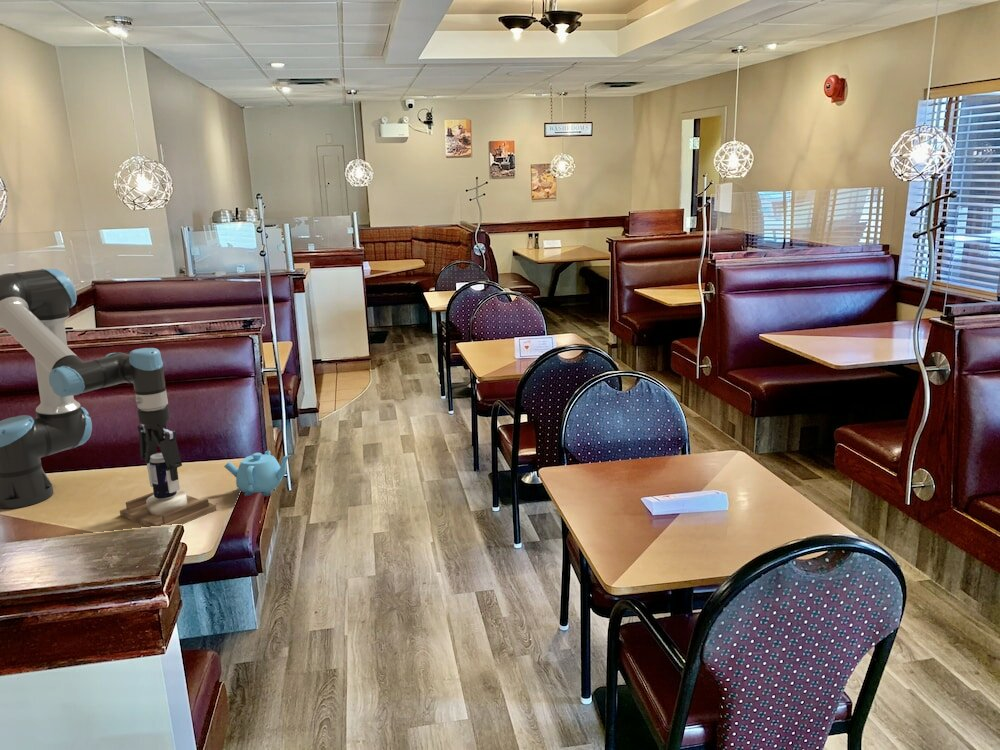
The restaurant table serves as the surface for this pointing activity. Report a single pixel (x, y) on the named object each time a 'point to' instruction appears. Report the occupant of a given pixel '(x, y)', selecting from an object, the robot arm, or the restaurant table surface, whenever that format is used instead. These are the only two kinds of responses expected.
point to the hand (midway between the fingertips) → (164, 487)
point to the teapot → (258, 473)
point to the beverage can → (159, 477)
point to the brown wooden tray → (166, 509)
